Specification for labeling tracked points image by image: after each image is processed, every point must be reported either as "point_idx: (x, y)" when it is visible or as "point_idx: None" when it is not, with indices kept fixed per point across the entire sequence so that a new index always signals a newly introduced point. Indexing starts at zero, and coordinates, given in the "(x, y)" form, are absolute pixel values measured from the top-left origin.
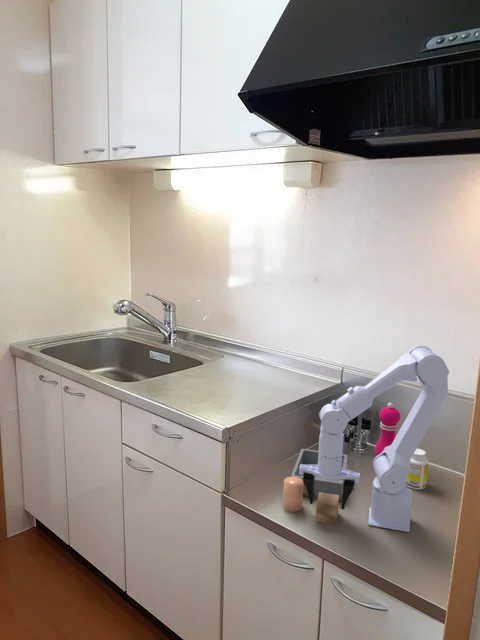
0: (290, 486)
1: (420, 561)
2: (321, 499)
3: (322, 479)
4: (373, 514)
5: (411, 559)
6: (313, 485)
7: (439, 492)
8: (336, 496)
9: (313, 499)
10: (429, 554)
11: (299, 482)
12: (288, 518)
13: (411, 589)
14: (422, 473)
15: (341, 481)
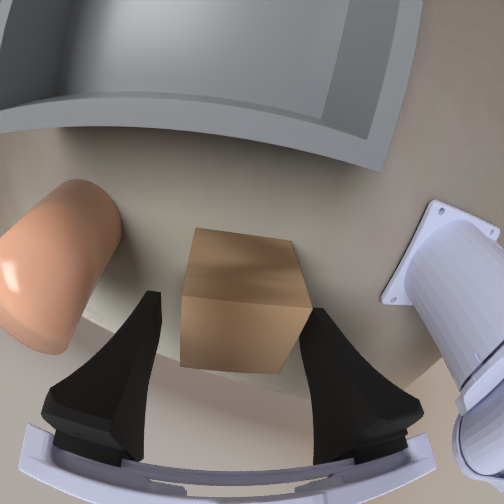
0: (32, 345)
1: (410, 365)
2: (202, 351)
3: (202, 105)
4: (413, 298)
5: (399, 366)
6: (138, 380)
7: None
8: (292, 321)
9: (159, 311)
10: (437, 347)
11: (44, 323)
12: (95, 296)
13: None
14: None
15: (384, 133)
